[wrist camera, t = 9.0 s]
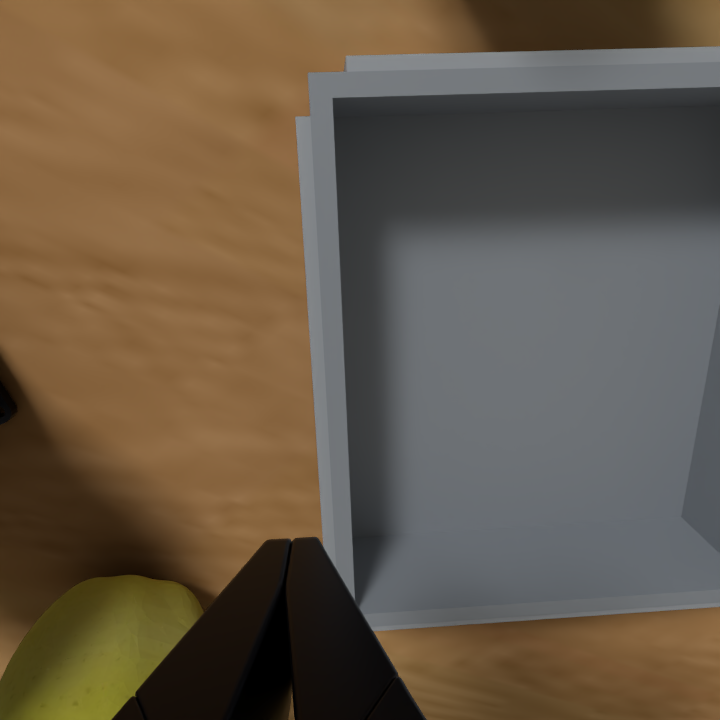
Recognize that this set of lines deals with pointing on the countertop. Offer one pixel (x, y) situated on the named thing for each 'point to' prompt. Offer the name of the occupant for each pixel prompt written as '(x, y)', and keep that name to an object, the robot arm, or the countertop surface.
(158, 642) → the apple
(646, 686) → the countertop surface
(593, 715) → the countertop surface
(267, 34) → the countertop surface
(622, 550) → the grey shallow open box
